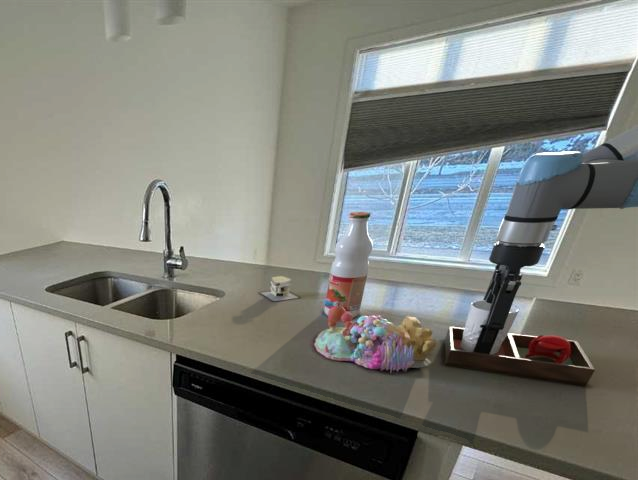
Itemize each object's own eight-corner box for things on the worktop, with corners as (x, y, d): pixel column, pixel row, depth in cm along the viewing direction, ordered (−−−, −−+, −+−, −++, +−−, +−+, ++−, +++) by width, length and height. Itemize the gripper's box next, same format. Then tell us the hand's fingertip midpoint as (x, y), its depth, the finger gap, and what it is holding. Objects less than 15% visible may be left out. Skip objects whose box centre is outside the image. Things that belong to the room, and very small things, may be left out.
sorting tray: (568, 356, 88) (577, 340, 87) (585, 386, 78) (595, 369, 77) (444, 340, 100) (449, 326, 98) (445, 365, 90) (450, 349, 88)
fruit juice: (362, 319, 115) (386, 214, 101) (327, 319, 117) (345, 216, 103) (353, 307, 123) (374, 209, 109) (320, 308, 125) (336, 211, 111)
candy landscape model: (414, 332, 105) (424, 298, 100) (448, 376, 85) (462, 336, 81) (310, 329, 112) (315, 297, 107) (320, 369, 93) (326, 332, 88)
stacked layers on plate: (259, 292, 142) (261, 277, 139) (283, 289, 143) (285, 274, 140) (273, 301, 133) (275, 285, 131) (298, 297, 134) (301, 281, 132)
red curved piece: (523, 351, 90) (535, 326, 87) (561, 357, 87) (574, 331, 84) (524, 365, 85) (536, 339, 82) (563, 372, 81) (577, 345, 78)
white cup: (495, 343, 92) (512, 301, 87) (506, 358, 86) (525, 314, 81) (453, 339, 95) (467, 299, 90) (460, 354, 89) (476, 311, 84)
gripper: (557, 255, 70) (506, 370, 82) (536, 233, 85) (495, 333, 96) (501, 253, 74) (459, 363, 85) (490, 232, 88) (456, 328, 100)
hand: (478, 347), depth 91 cm, fingers closed on white cup, 8 cm apart
